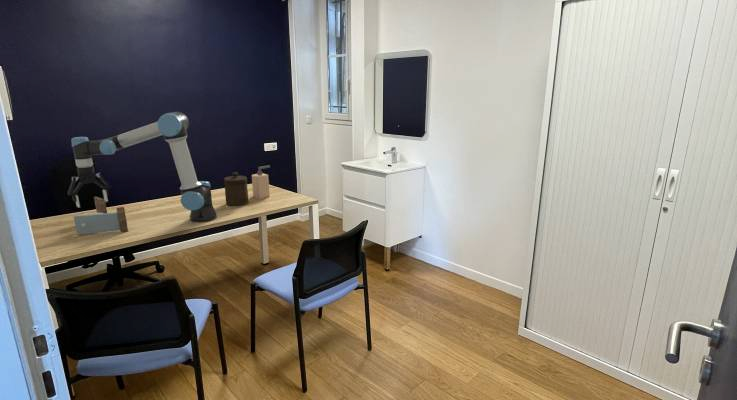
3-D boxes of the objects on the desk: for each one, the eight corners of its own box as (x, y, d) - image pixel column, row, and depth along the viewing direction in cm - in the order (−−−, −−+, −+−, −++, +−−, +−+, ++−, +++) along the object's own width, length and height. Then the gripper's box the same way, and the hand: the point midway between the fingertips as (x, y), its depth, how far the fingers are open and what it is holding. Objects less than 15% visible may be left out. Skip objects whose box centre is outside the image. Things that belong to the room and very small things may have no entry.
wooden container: (248, 199, 286) (245, 169, 280) (249, 205, 272) (246, 173, 266) (226, 201, 281) (223, 170, 275) (226, 207, 268) (223, 175, 262)
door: (124, 228, 225) (121, 211, 222) (123, 230, 222) (120, 213, 220) (78, 233, 218) (74, 216, 215) (76, 235, 215) (72, 217, 212)
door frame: (128, 231, 223) (124, 207, 219) (122, 233, 221) (118, 208, 217) (102, 218, 244) (98, 196, 240) (96, 219, 242) (92, 197, 238)
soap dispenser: (259, 198, 289) (257, 168, 283) (253, 196, 295) (250, 167, 289) (274, 195, 298) (272, 166, 292) (267, 193, 304) (266, 164, 298)
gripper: (107, 161, 228) (114, 197, 233) (54, 169, 209) (63, 208, 215) (113, 163, 223) (120, 200, 229) (59, 171, 204) (68, 210, 210)
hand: (92, 204), depth 222 cm, fingers open, 13 cm apart
